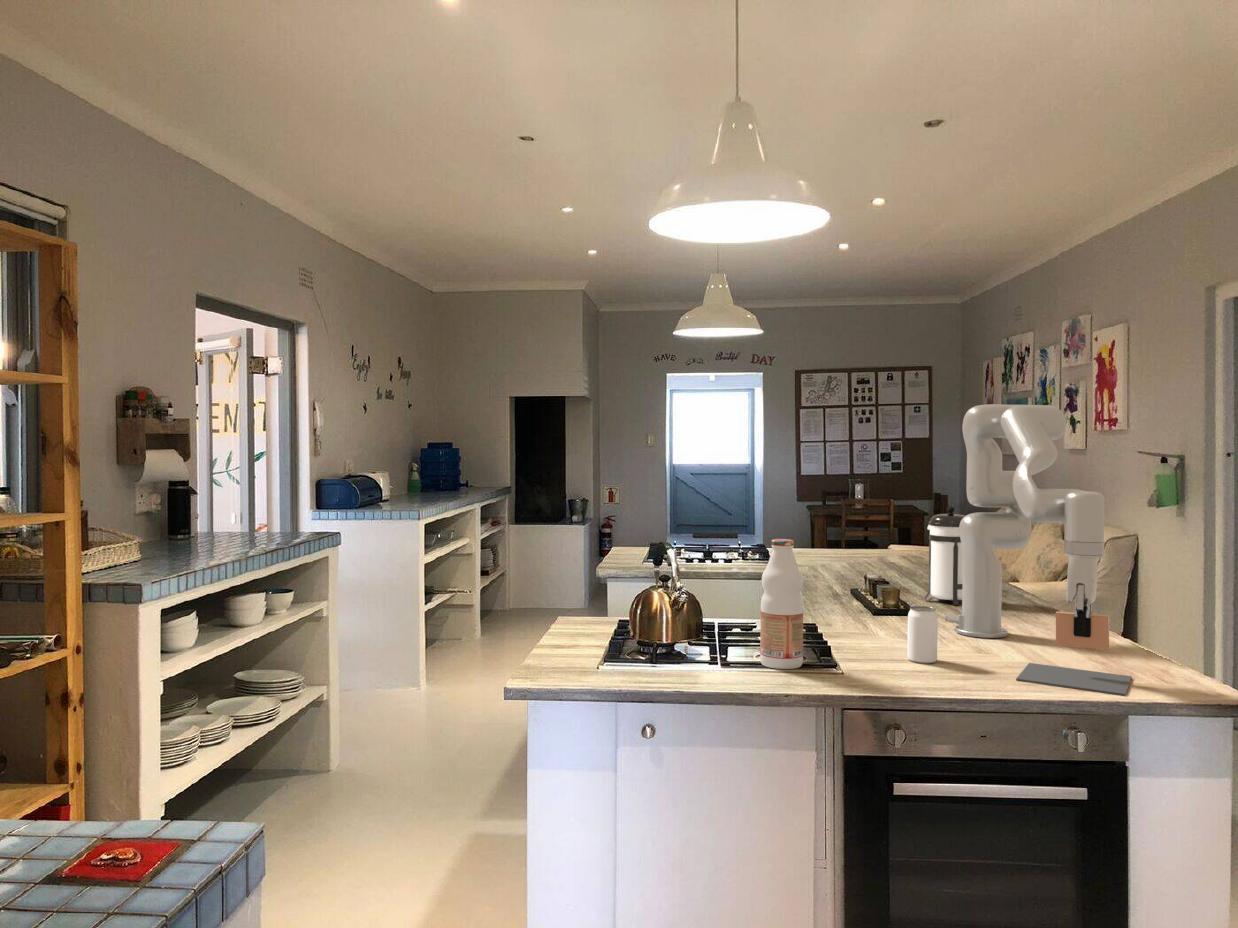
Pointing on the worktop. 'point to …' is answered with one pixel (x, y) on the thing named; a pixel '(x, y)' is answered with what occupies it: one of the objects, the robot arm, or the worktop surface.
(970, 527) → the robot arm
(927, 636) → the can
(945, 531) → the coffee press
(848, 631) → the worktop surface
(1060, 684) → the mat
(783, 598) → the fruit juice
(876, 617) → the worktop surface
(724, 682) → the worktop surface
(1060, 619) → the block
